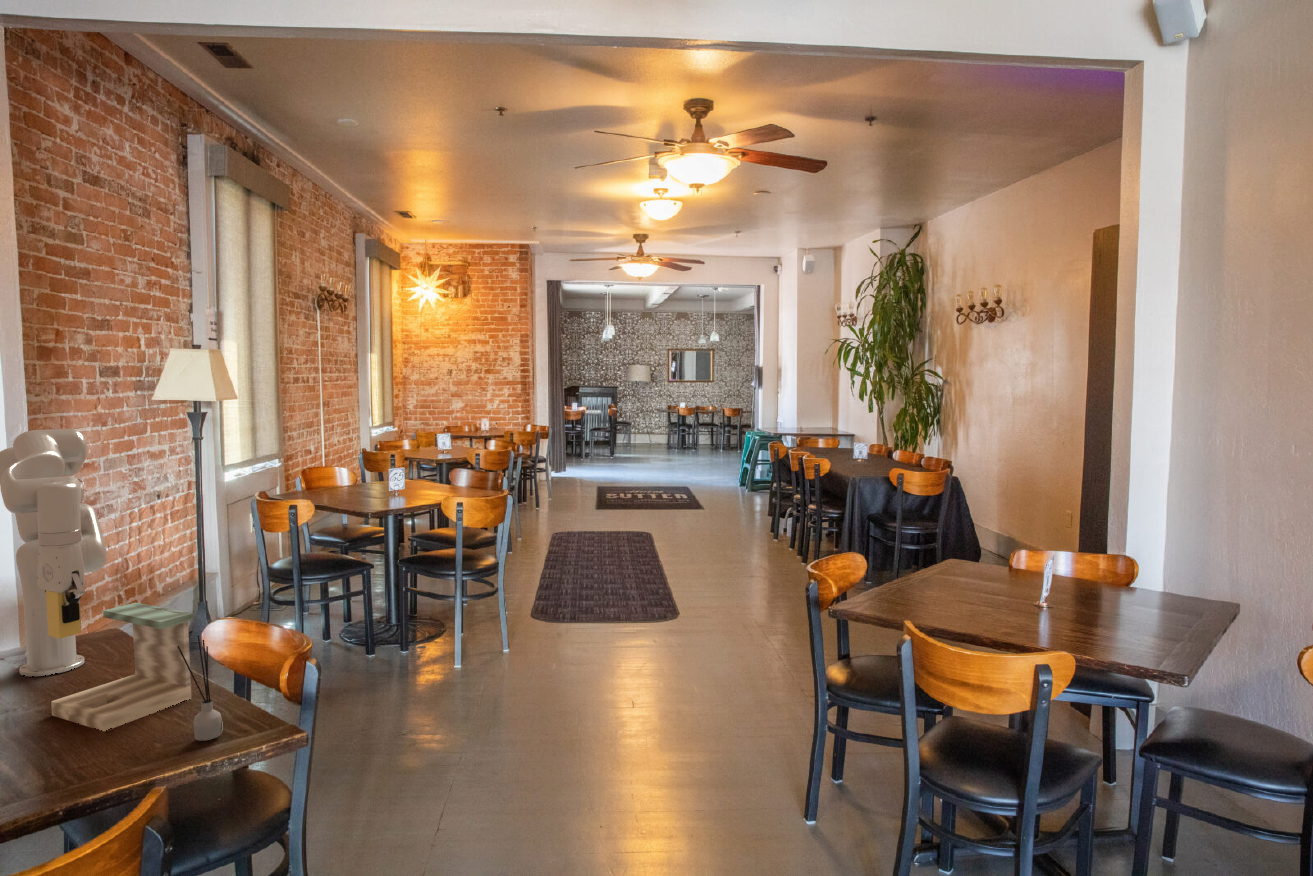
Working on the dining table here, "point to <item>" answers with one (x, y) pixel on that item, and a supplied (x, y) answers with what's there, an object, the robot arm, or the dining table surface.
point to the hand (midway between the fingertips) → (64, 619)
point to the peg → (60, 617)
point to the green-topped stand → (138, 672)
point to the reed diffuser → (205, 707)
